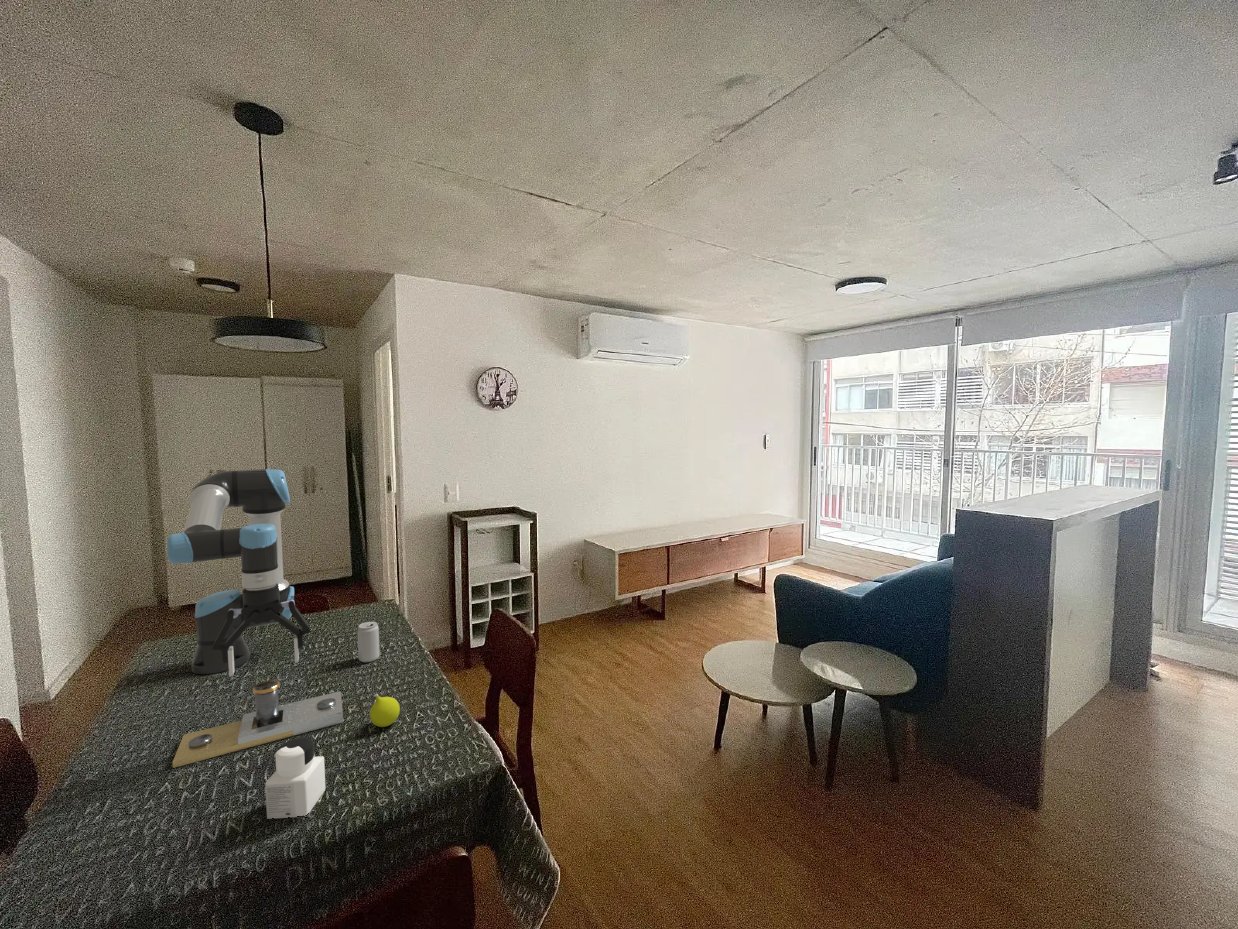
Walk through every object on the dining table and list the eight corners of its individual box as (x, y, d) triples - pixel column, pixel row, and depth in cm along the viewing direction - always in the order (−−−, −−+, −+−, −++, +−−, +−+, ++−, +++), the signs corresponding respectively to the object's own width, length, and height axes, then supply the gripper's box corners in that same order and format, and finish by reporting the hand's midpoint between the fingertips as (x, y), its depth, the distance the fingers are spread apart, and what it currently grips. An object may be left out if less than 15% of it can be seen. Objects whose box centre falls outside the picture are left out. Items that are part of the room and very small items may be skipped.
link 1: (184, 740, 124) (183, 732, 124) (295, 712, 137) (294, 705, 136) (172, 768, 114) (172, 759, 114) (293, 735, 126) (293, 727, 126)
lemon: (364, 729, 129) (362, 692, 128) (385, 714, 136) (384, 679, 135) (384, 735, 126) (383, 697, 126) (406, 720, 133) (405, 684, 132)
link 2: (244, 725, 131) (243, 712, 130) (341, 701, 142) (340, 689, 142) (238, 750, 120) (237, 736, 120) (343, 722, 132) (342, 709, 132)
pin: (256, 728, 129) (253, 683, 129) (282, 721, 132) (280, 678, 131) (253, 739, 125) (251, 693, 124) (280, 732, 128) (278, 687, 127)
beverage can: (371, 664, 165) (369, 629, 164) (354, 662, 166) (352, 627, 165) (383, 655, 171) (382, 621, 170) (367, 654, 172) (366, 620, 171)
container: (288, 792, 107) (285, 733, 106) (326, 789, 107) (323, 731, 107) (266, 820, 99) (262, 757, 98) (307, 817, 100) (304, 755, 99)
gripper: (193, 599, 116) (199, 686, 118) (318, 582, 129) (322, 661, 131) (200, 590, 122) (205, 672, 124) (318, 574, 136) (321, 649, 137)
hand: (265, 667), depth 128 cm, fingers open, 13 cm apart
